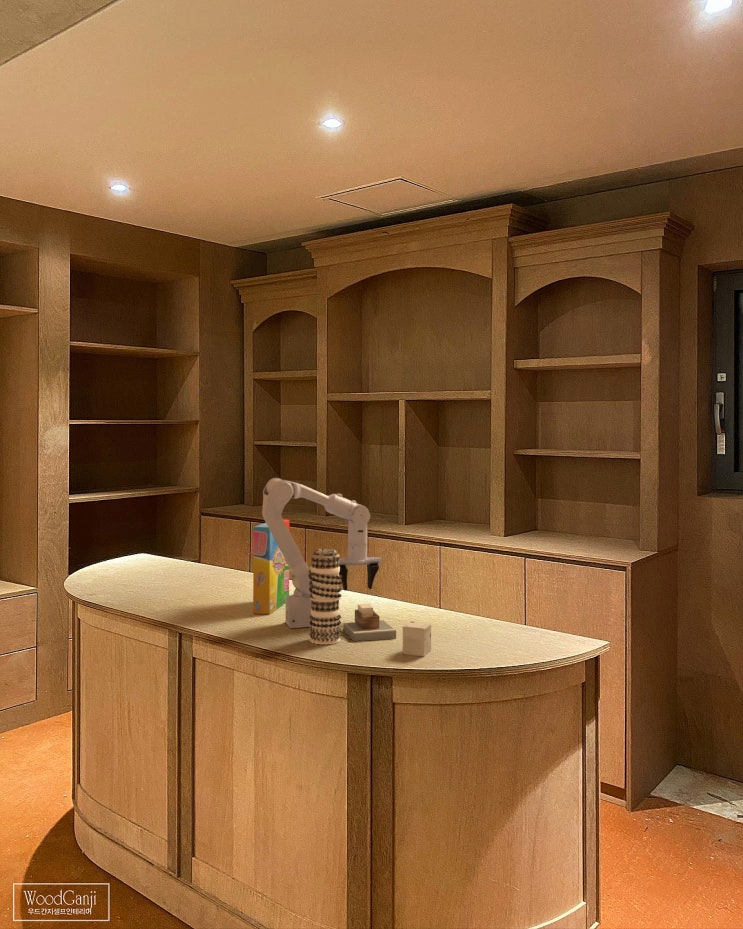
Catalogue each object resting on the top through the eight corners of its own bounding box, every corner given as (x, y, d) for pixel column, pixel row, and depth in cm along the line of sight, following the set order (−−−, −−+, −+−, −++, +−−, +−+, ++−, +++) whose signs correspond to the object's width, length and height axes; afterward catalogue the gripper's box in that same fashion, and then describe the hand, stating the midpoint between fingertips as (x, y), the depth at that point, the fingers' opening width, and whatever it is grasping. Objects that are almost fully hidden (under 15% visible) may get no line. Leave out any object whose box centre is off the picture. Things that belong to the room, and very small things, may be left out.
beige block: (362, 618, 227) (362, 608, 227) (357, 614, 232) (357, 604, 232) (373, 618, 228) (373, 607, 228) (368, 613, 233) (368, 603, 233)
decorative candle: (301, 640, 220) (301, 549, 218) (326, 634, 226) (326, 546, 225) (323, 647, 213) (323, 554, 212) (348, 640, 220) (349, 550, 218)
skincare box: (424, 657, 206) (424, 628, 205) (401, 654, 208) (402, 626, 208) (431, 650, 211) (431, 623, 211) (409, 648, 214) (409, 620, 213)
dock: (354, 641, 219) (354, 632, 219) (343, 629, 231) (343, 622, 231) (396, 638, 223) (396, 629, 223) (383, 627, 234) (383, 619, 234)
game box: (269, 615, 247) (269, 527, 246) (252, 614, 248) (252, 526, 247) (289, 600, 268) (289, 518, 266) (273, 599, 269) (273, 518, 267)
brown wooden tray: (362, 629, 224) (362, 617, 224) (354, 621, 233) (354, 609, 233) (379, 628, 225) (379, 616, 225) (371, 620, 234) (371, 608, 234)
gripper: (337, 547, 235) (337, 593, 236) (384, 545, 239) (384, 590, 240) (331, 543, 242) (331, 588, 243) (378, 541, 246) (377, 585, 247)
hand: (357, 589), depth 242 cm, fingers open, 7 cm apart
